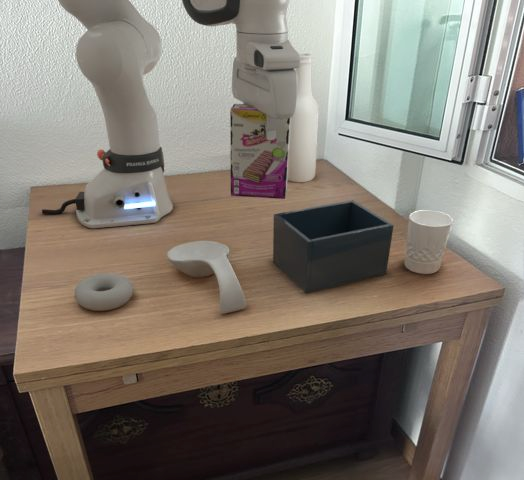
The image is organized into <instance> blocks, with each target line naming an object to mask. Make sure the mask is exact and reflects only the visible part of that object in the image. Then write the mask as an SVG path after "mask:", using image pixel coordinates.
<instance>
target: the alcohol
mask: <svg viewBox="0 0 524 480" xmlns="http://www.w3.org/2000/svg"><path fill="white" fill-rule="evenodd" d="M298 54H299V55H300V66H299V68H296V69H294V70H295V71H296V73H297V99H296V108H295V112H294V114H293V116H292V118H291V129H290V145H289V163H288V182H292V183H307V182H311V181H313V179H314V178H315V177H316V169H317V150H318V133H319V132H318V131H319V115H320V114H319V113H320V109H319V103H318V102H317V100H316V99H315V97H314V95H313V89H312V88H313V87H312V84H313V83H312V63H313V60H312V58H313V55H312V54H310V53H298Z"/></svg>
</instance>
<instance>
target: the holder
mask: <svg viewBox="0 0 524 480" xmlns="http://www.w3.org/2000/svg"><path fill="white" fill-rule="evenodd" d="M394 226H395V225H394V224H393V223H392V222H390V221H388V220H387V219H385V218H384V217H381V216H380V215H379V214H376V213H375V212H374V211H372V210H369V209H368V208H367V207H365V206H363V205H362V204H360V203H359V202H357V201H355V200H347V201H340V202H336V203H334V202H333V203H328V204H323V205H318V206H312V207H307V208H301V209H295V210H290V211H289V210H288V211H283V212H278V213H274V214H273V229H272V230H273V235H272V236H273V237H272V242H273V243H272V263H273V264H274V265H275V266H276V267H278V269H279V270H280V271H282V272H283V273H284V274H285V276H287V278H289V279H290V280H291V281H292V282H293V283H294V284H295V285H296V286H297V287H298V288H300V290H301V291H302V292H303V293H305V294H308V293H313V292H315V291H316V292H317V291H321V290H326V289H329V288H334V287H338V286H341V285H345V284H350V283H354V282H358V281H363V280H367V279H372V278H376V277H379V276H384V275H387V271H388V265H389V260H390V259H389V258H390V251H391V246H392V240H393V232H394Z"/></svg>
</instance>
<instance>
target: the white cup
mask: <svg viewBox="0 0 524 480" xmlns="http://www.w3.org/2000/svg"><path fill="white" fill-rule="evenodd" d="M453 222H454V218H453V217H452V216H451V215H449V214H448V213H445V212H443V211H438V210H434V209H433V210H432V209H420V210H415V211H412V212H411V213H409V216H408V223H407V231H406V238H405V239H406V240H405V255H404V260H403V261H404V262H403V264H404V267H405V268H406V269H407V270H408V271H410V272H412V273H416V274H420V275H421V274H422V275H431V274H434V273H437V272H439V270H440V268H441V264H442V260H443V257H444V256H445V251H446V248H447V245H448V241H449V237H450V234H451V231H452V226H453Z"/></svg>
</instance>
